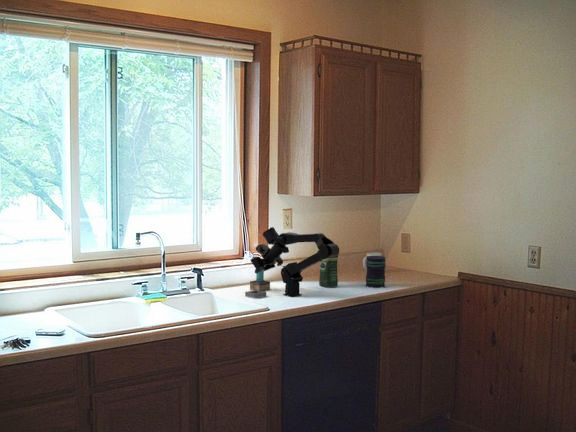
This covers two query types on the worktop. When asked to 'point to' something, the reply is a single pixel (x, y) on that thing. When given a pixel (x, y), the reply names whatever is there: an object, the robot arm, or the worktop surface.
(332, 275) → the coffee jar
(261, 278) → the dowel plug
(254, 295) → the lower dock
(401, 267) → the worktop surface
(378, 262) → the storage jar
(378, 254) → the mug
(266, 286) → the upper stand
